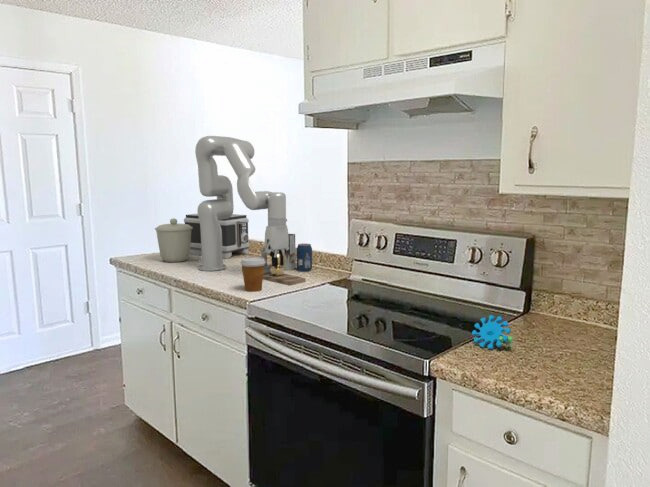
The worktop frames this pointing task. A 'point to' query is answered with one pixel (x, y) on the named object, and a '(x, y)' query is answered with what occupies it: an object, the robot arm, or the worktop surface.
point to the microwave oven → (231, 235)
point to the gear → (492, 333)
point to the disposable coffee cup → (253, 273)
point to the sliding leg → (277, 268)
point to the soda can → (304, 257)
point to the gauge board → (282, 278)
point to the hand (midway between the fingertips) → (277, 265)
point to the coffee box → (290, 254)
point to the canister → (174, 241)
